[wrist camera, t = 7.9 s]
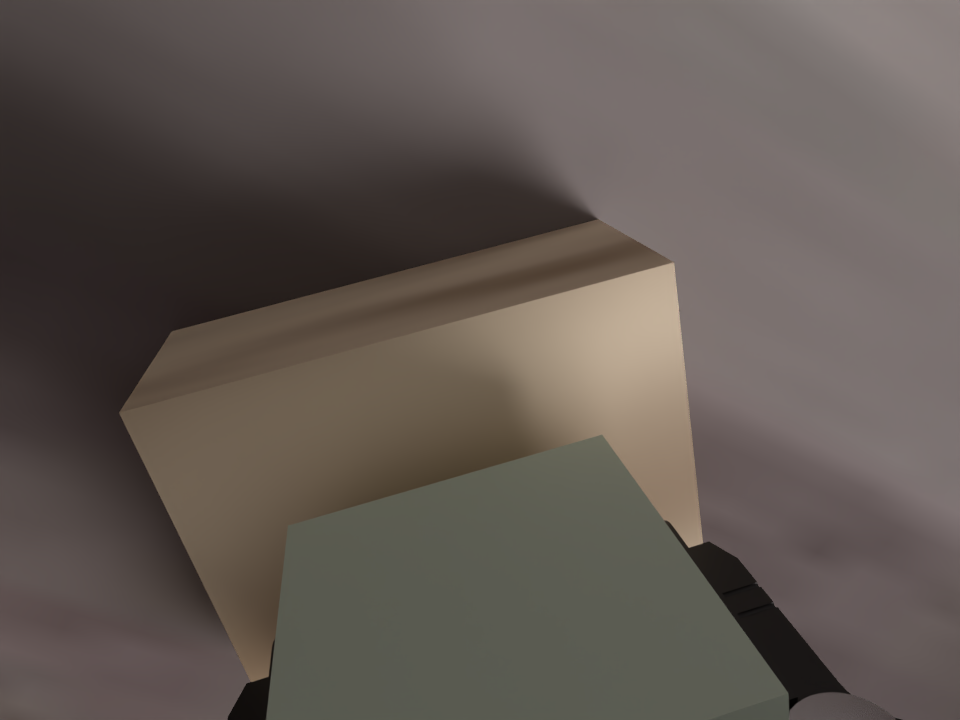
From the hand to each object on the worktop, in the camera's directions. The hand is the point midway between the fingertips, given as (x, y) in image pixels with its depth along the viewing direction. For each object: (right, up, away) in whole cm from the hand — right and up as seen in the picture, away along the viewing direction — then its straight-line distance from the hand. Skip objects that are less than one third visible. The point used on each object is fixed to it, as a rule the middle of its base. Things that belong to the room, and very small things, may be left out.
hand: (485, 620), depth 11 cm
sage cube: (0, 0, +1) cm, 0 cm away
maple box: (-1, +2, +5) cm, 6 cm away
